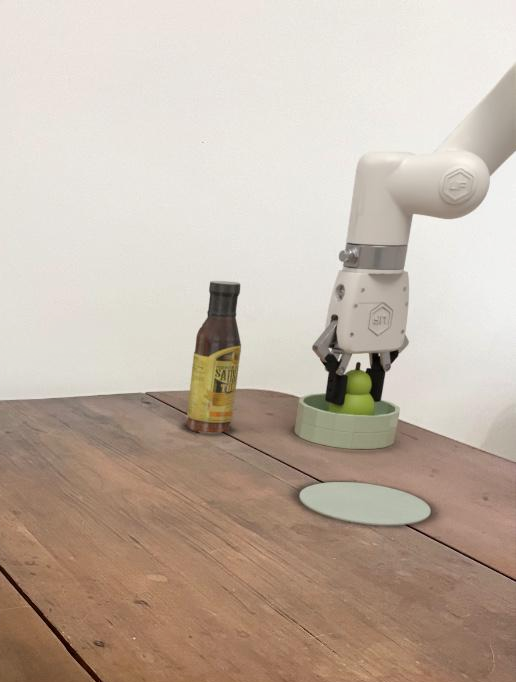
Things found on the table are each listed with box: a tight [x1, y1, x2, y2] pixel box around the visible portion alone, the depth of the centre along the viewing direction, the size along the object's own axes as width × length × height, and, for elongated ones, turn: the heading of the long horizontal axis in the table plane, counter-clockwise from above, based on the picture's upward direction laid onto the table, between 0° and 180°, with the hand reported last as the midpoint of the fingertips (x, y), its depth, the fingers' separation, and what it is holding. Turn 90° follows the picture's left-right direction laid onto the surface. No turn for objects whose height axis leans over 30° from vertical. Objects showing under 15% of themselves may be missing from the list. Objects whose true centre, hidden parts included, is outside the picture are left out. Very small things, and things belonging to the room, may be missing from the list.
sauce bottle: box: [186, 280, 242, 434], centre depth 125 cm, size 7×6×20 cm
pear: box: [329, 361, 375, 415], centre depth 124 cm, size 6×6×10 cm
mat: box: [299, 481, 432, 526], centre depth 102 cm, size 14×14×1 cm
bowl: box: [293, 392, 401, 450], centre depth 126 cm, size 13×13×5 cm
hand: (353, 400), depth 124 cm, fingers closed on pear, 5 cm apart
